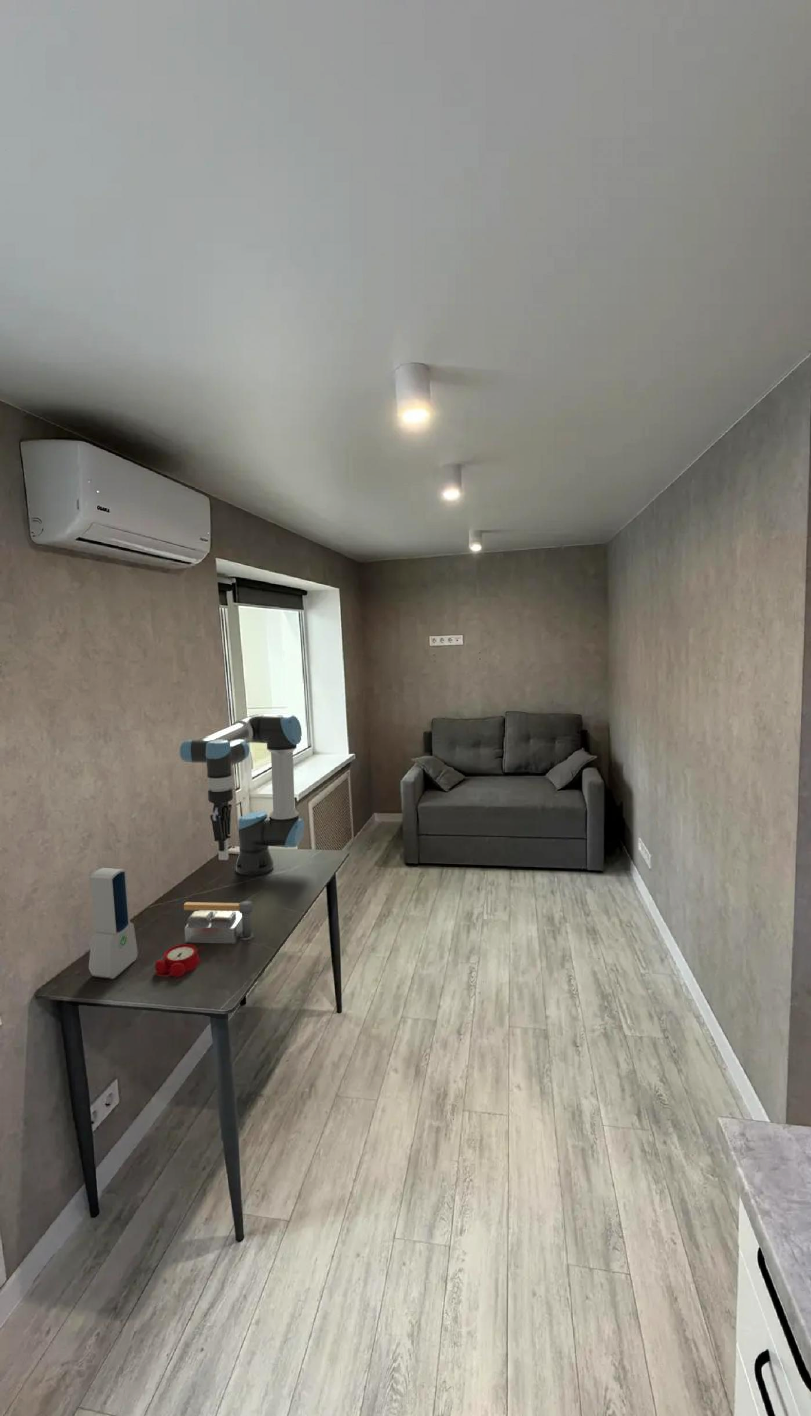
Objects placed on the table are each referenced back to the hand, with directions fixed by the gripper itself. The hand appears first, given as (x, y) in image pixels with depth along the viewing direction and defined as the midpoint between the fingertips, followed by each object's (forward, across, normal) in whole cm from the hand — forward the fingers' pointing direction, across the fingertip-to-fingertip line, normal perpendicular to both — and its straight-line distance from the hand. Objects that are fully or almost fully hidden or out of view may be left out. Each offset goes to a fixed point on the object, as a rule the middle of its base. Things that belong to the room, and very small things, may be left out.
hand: (223, 859), depth 197 cm
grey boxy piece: (+24, +3, 0) cm, 25 cm away
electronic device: (+25, +24, -26) cm, 43 cm away
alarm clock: (+25, +23, -7) cm, 34 cm away
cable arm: (+24, +4, -1) cm, 24 cm away
